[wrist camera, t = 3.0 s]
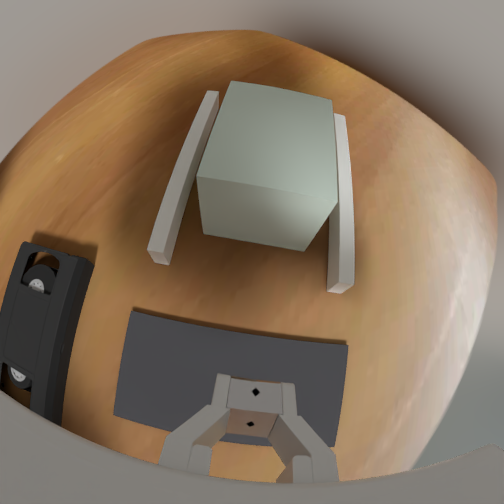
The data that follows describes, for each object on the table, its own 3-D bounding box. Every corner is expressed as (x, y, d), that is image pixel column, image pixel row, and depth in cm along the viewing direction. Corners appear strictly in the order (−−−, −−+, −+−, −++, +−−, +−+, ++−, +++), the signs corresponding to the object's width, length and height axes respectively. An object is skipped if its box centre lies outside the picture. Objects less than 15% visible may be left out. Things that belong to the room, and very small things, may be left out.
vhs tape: (33, 249, 20) (22, 240, 18) (97, 267, 20) (86, 258, 18) (1, 391, 15) (-12, 390, 13) (63, 430, 15) (51, 434, 13)
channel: (114, 414, 16) (101, 419, 13) (200, 107, 27) (200, 89, 25) (332, 445, 16) (346, 454, 14) (344, 133, 28) (351, 118, 26)
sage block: (203, 234, 22) (196, 175, 15) (227, 143, 26) (231, 80, 19) (303, 252, 22) (337, 202, 15) (308, 158, 26) (331, 100, 19)
